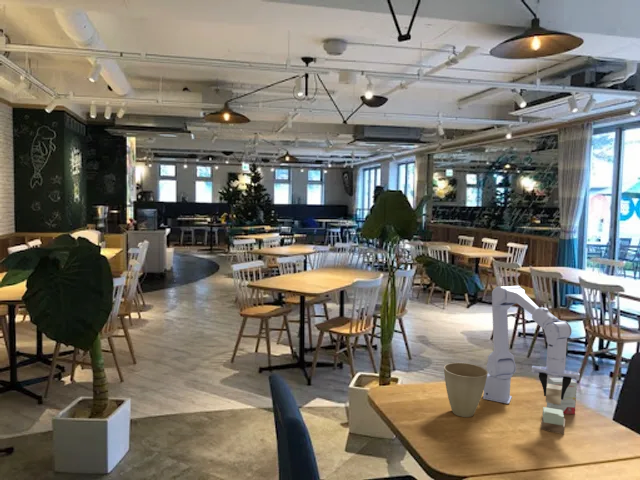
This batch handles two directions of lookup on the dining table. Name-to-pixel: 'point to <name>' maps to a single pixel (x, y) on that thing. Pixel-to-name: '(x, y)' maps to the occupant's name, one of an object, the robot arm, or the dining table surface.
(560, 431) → the walnut base block
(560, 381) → the ink box
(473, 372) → the plant pot
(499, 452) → the dining table surface
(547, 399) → the maple block
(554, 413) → the sage top block
